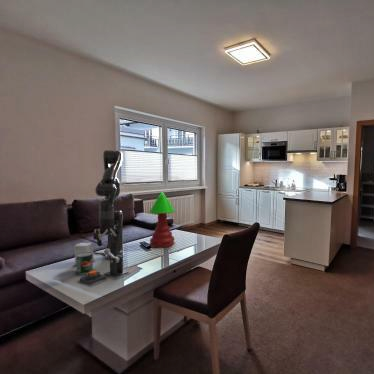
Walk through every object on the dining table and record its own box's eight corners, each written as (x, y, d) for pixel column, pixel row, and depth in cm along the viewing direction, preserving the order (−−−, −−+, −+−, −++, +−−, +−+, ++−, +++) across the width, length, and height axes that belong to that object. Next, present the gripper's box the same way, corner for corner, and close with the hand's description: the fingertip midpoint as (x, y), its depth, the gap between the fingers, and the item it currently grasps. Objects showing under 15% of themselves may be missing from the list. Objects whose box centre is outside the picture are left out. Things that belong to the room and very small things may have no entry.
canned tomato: (82, 269, 143) (81, 251, 142) (95, 269, 144) (95, 251, 143) (73, 274, 135) (72, 256, 135) (87, 274, 136) (87, 256, 135)
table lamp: (144, 245, 193) (144, 191, 191) (165, 239, 210) (165, 190, 207) (158, 249, 182) (158, 192, 180) (179, 243, 198) (179, 191, 196)
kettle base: (104, 275, 135) (104, 257, 134) (117, 270, 142) (116, 253, 142) (115, 279, 131) (115, 260, 130) (128, 273, 138) (128, 256, 138)
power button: (87, 275, 127) (87, 272, 127) (94, 272, 130) (94, 269, 130) (91, 276, 126) (91, 273, 126) (98, 274, 129) (98, 270, 129)
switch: (102, 252, 139) (103, 248, 138) (107, 251, 142) (108, 246, 141) (114, 264, 135) (115, 259, 134) (119, 262, 138) (121, 258, 137)
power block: (79, 282, 127) (79, 274, 126) (94, 276, 134) (94, 269, 134) (91, 286, 123) (91, 278, 122) (106, 279, 130) (105, 272, 130)
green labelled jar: (93, 261, 156) (93, 242, 155) (87, 265, 149) (86, 245, 148) (81, 261, 156) (81, 242, 155) (74, 265, 149) (74, 245, 148)
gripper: (113, 215, 146) (114, 240, 147) (90, 218, 133) (90, 246, 134) (121, 216, 143) (122, 242, 144) (98, 220, 130) (99, 248, 131)
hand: (107, 244), depth 139 cm, fingers open, 8 cm apart
